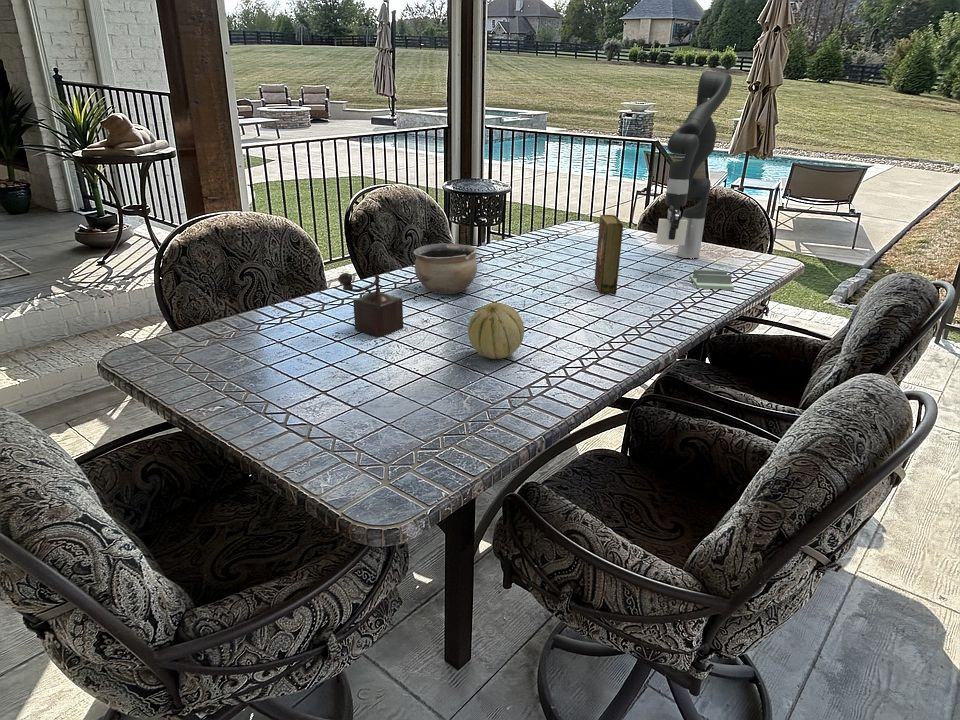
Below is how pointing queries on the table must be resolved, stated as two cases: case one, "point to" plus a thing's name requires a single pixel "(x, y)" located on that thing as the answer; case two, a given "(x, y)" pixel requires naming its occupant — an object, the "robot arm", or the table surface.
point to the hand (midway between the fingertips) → (670, 238)
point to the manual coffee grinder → (375, 309)
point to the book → (608, 254)
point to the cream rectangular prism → (664, 232)
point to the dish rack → (711, 279)
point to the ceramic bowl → (445, 267)
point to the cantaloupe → (496, 330)
